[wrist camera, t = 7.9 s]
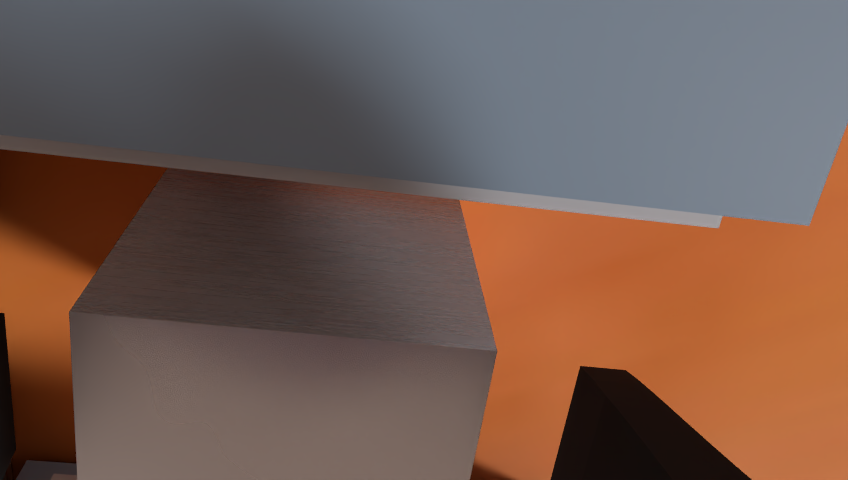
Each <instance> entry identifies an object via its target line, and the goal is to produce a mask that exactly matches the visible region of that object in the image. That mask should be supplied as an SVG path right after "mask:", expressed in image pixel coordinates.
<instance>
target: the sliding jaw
mask: <svg viewBox="0 0 848 480" xmlns="http://www.w3.org/2000/svg"><path fill="white" fill-rule="evenodd" d="M16 480H77V464H75V463H61V462H47V461H33V460H27V461H26V463H25V465H24V466H23V468H22V470H21V471H20V473H19V475H18V476H17V478H16Z"/></svg>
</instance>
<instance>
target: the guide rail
mask: <svg viewBox="0 0 848 480" xmlns="http://www.w3.org/2000/svg"><path fill="white" fill-rule="evenodd" d="M3 480H13V474H12V464H11V461H10V464H9V466H8V468H7V471H6V473H5V475H4V478H3Z"/></svg>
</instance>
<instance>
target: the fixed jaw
mask: <svg viewBox="0 0 848 480" xmlns="http://www.w3.org/2000/svg"><path fill="white" fill-rule="evenodd" d="M847 123H848V0H0V149H4V150H13V151H22V152H31V153H40V154H49V155H58V156H67V157H77V158H86V159H95V160H104V161H113V162H122V163H131V164H140V165H149V166H158V167H167V168H176V169H185V170H194V171H203V172H212V173H221V174H231V175H240V176H249V177H258V178H267V179H276V180H285V181H294V182H303V183H312V184H321V185H330V186H339V187H348V188H357V189H366V190H376V191H385V192H394V193H403V194H412V195H421V196H430V197H439V198H448V199H457V200H466V201H475V202H484V203H493V204H502V205H511V206H520V207H530V208H539V209H548V210H557V211H566V212H575V213H584V214H593V215H602V216H611V217H620V218H629V219H638V220H647V221H656V222H665V223H674V224H684V225H693V226H702V227H711V228H719V225H720V222H721V219H722V216H728V217H737V218H746V219H755V220H763V221H772V222H781V223H790V224H799V225H808V226H809V225H810V222H811V219H812V217H813V214H814V211H815V209H816V206H817V203H818V201H819V198H820V195H821V193H822V190H823V187H824V185H825V182H826V179H827V176H828V174H829V171H830V168H831V166H832V163H833V160H834V158H835V155H836V152H837V150H838V147H839V144H840V142H841V139H842V136H843V134H844V131H845V128H846V126H847Z"/></svg>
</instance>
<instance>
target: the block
mask: <svg viewBox="0 0 848 480" xmlns="http://www.w3.org/2000/svg"><path fill="white" fill-rule="evenodd" d="M69 319H70V339H71V360H72V380H73V401H74V421H75V441H76V462H77V480H470V476H471V472H472V467H473V462H474V457H475V453H476V448H477V443H478V439H479V434H480V429H481V425H482V420H483V415H484V410H485V406H486V401H487V396H488V392H489V387H490V382H491V378H492V373H493V368H494V364H495V359H496V354H497V349H496V345H495V341H494V337H493V333H492V329H491V325H490V321H489V317H488V313H487V309H486V305H485V301H484V297H483V293H482V289H481V285H480V281H479V277H478V273H477V269H476V265H475V261H474V257H473V253H472V249H471V245H470V241H469V237H468V233H467V229H466V225H465V221H464V217H463V213H462V209H461V205H460V201H459V200H457V199H448V198H439V197H430V196H421V195H412V194H403V193H394V192H385V191H376V190H366V189H357V188H348V187H339V186H330V185H321V184H312V183H303V182H294V181H285V180H276V179H267V178H258V177H249V176H240V175H231V174H221V173H212V172H203V171H194V170H185V169H176V168H167V170H166V171H165V173H164V174H163V176H162V177H161V178H160V180H159V181H158V183H157V184H156V186H155V187H154V189H153V190H152V192H151V193H150V195H149V196H148V197H147V199H146V200H145V202H144V203H143V205H142V206H141V208H140V209H139V211H138V212H137V214H136V215H135V216H134V218H133V219H132V221H131V222H130V224H129V225H128V227H127V228H126V230H125V231H124V233H123V234H122V235H121V237H120V238H119V240H118V241H117V243H116V244H115V246H114V247H113V249H112V250H111V252H110V253H109V254H108V256H107V257H106V259H105V260H104V262H103V263H102V265H101V266H100V268H99V269H98V271H97V272H96V273H95V275H94V276H93V278H92V279H91V281H90V282H89V284H88V285H87V287H86V288H85V290H84V291H83V292H82V294H81V295H80V297H79V298H78V300H77V301H76V303H75V304H74V306H73V307H72V309H71V310H70V311H69Z"/></svg>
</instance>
